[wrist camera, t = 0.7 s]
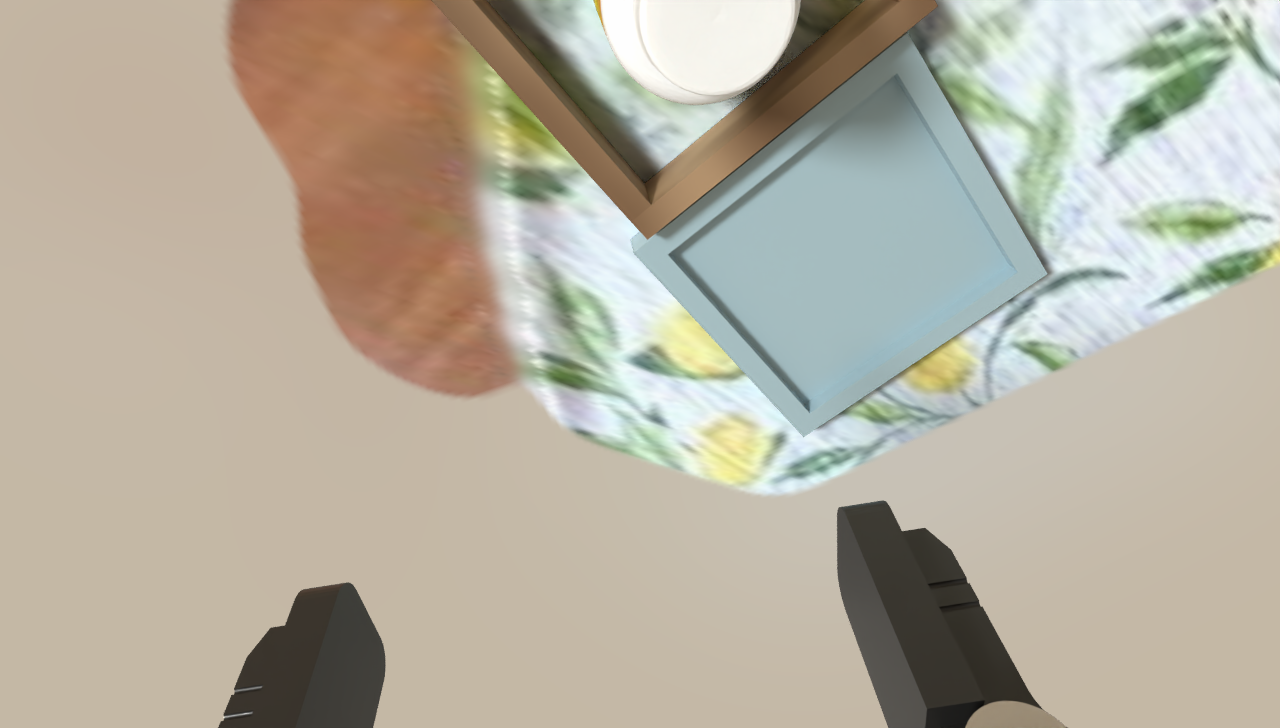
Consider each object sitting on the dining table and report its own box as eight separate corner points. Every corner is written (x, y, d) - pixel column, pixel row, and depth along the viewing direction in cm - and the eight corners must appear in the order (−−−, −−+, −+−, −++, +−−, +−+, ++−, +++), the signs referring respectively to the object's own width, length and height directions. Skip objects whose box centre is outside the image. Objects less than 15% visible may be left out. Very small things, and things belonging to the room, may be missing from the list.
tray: (893, 26, 30) (907, 32, 28) (1031, 260, 36) (1047, 274, 34) (630, 239, 33) (633, 253, 32) (795, 420, 39) (803, 437, 38)
